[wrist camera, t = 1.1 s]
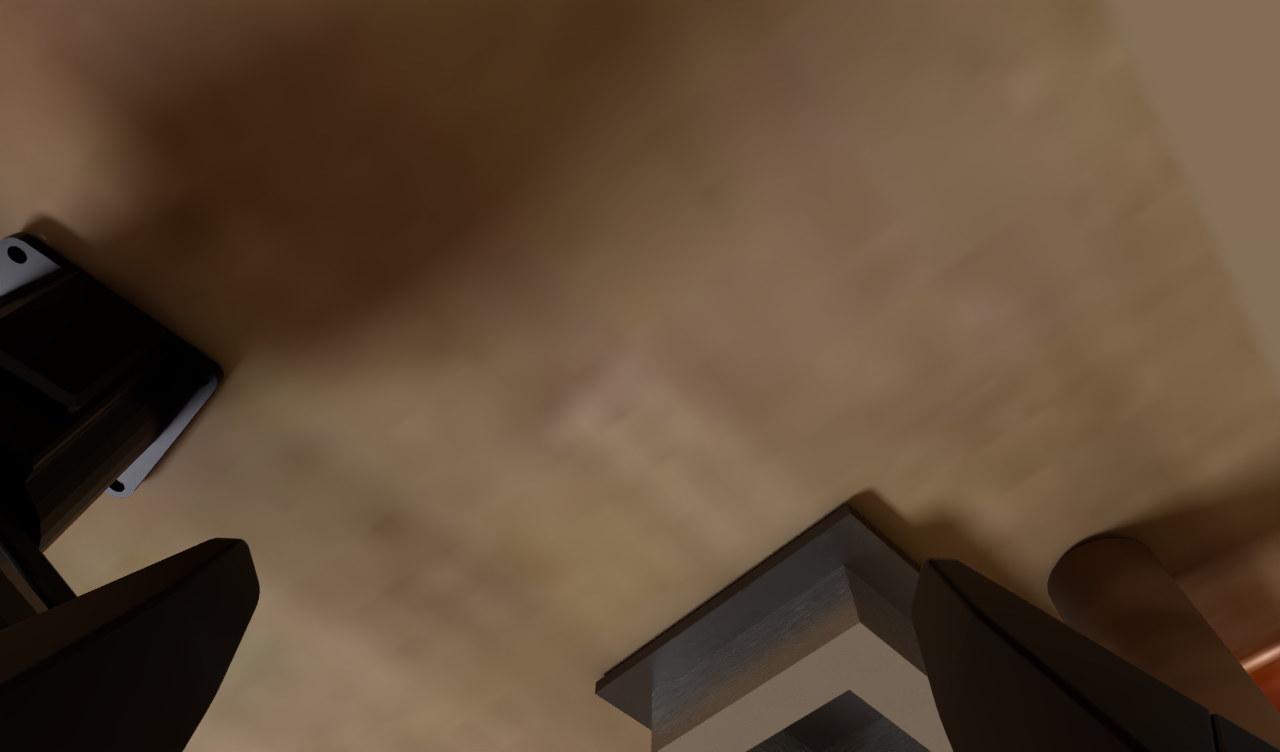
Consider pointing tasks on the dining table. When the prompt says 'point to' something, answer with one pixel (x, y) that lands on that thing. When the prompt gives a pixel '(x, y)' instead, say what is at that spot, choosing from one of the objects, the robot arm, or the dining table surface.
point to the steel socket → (793, 657)
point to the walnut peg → (1156, 629)
